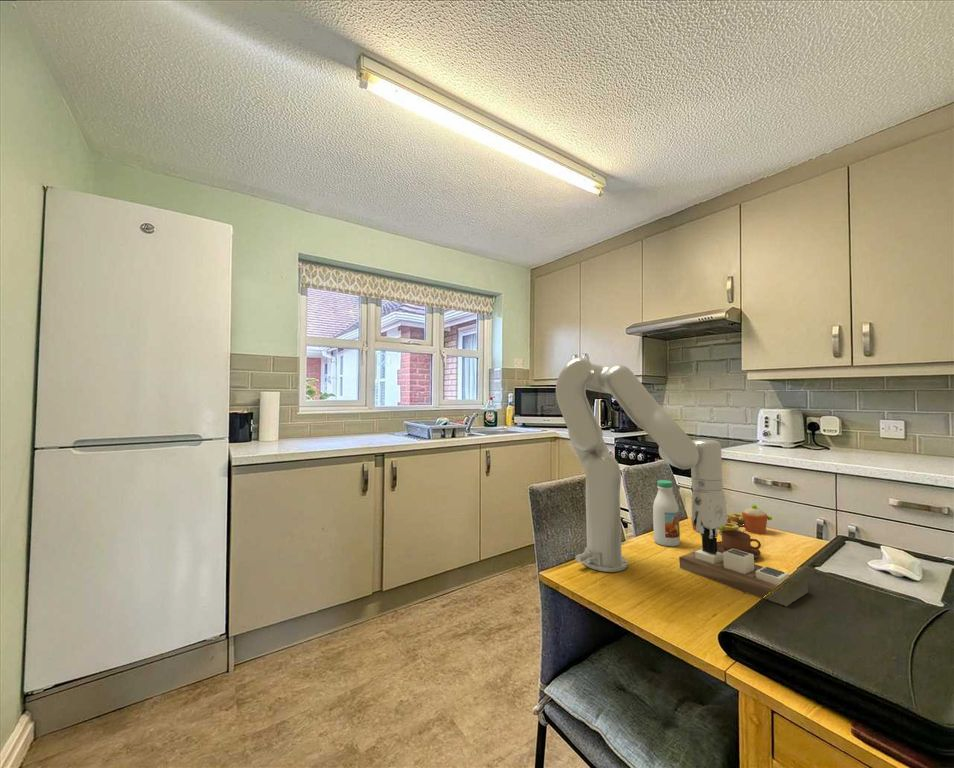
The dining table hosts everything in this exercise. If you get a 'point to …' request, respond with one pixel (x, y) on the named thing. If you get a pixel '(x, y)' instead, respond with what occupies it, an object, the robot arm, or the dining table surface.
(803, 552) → the dining table surface
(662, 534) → the milk bottle
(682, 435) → the robot arm
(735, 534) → the cup and saucer
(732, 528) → the toy tea set
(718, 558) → the tile one
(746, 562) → the tile two
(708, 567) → the board
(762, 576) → the tile three
